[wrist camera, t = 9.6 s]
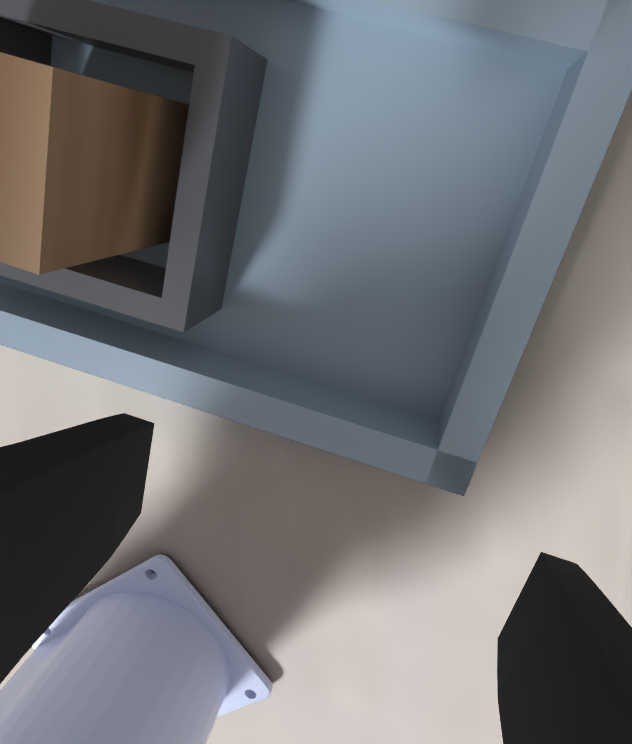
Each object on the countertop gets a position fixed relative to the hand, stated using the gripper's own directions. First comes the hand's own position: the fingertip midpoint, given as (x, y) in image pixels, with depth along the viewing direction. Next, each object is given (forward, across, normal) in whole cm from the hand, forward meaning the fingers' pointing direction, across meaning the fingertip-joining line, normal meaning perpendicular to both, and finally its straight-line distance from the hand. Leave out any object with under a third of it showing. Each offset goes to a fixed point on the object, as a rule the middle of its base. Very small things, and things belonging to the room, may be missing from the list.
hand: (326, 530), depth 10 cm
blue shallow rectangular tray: (+9, +6, -4) cm, 12 cm away
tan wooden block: (+9, +9, -4) cm, 14 cm away
